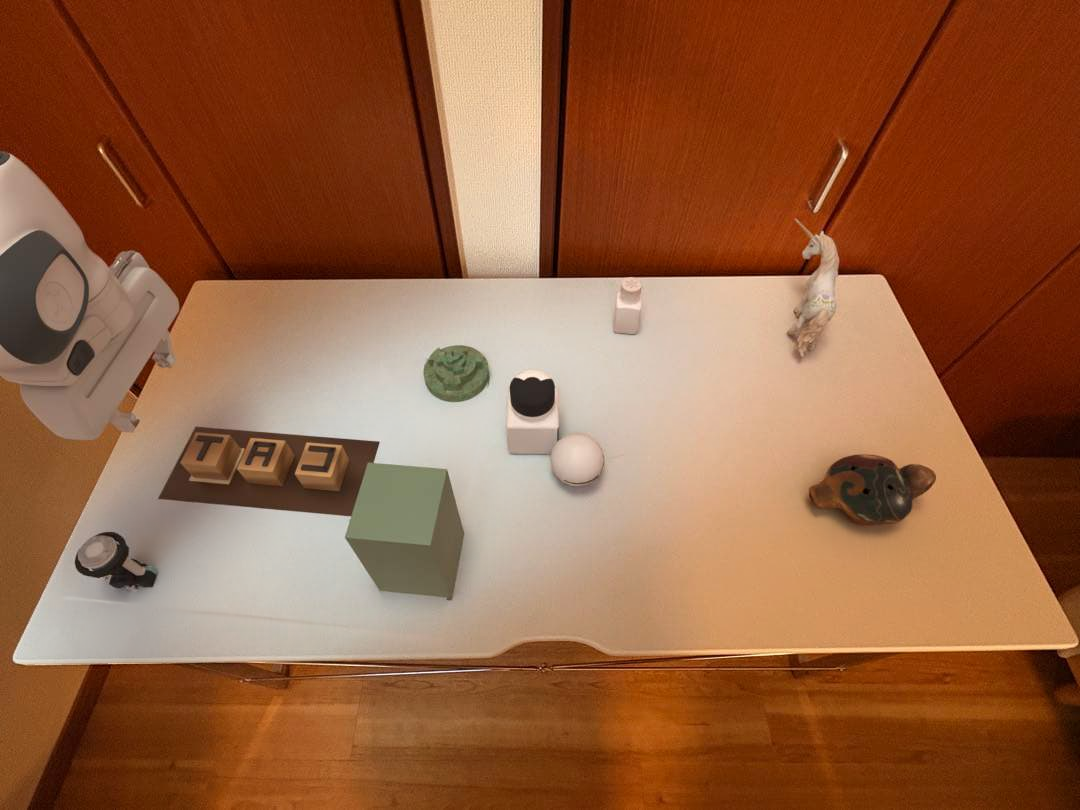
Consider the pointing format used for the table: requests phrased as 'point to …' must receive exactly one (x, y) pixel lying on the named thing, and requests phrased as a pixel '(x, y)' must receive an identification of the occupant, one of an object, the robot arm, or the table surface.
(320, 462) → the tile
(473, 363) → the decorative artifact
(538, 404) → the white black domed block
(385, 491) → the stand
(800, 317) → the unicorn figurine
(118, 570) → the push button
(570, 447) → the white sphere
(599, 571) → the table surface
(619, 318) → the pepper shaker
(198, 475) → the tile
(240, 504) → the word board
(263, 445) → the tile
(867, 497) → the decorative turtle
